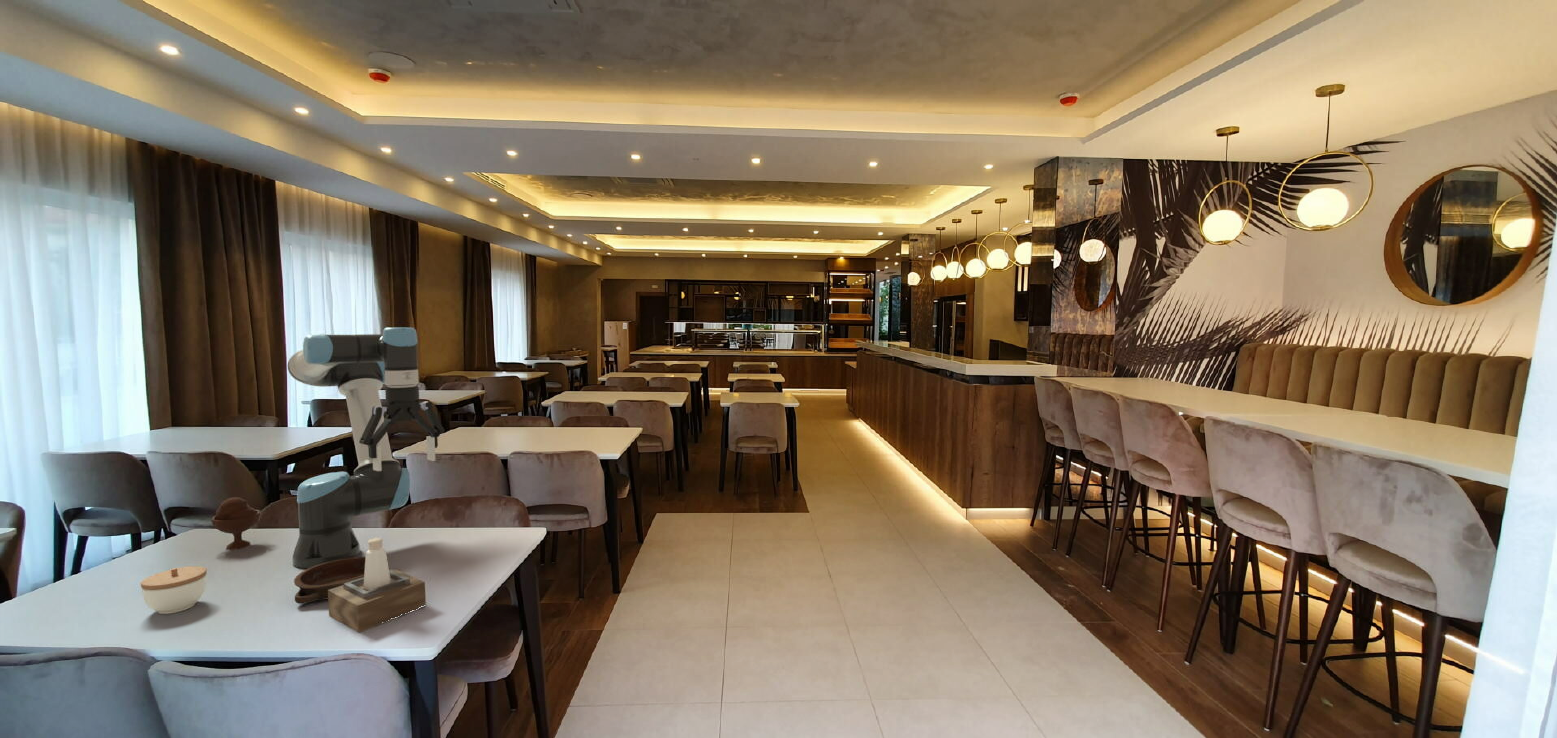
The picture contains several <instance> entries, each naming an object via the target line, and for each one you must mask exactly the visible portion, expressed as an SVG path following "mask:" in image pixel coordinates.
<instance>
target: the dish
mask: <svg viewBox="0 0 1557 738" xmlns="http://www.w3.org/2000/svg"><path fill="white" fill-rule="evenodd" d="M365 559H366V556H355V557H353V558H346V559H339V560H334V561H330V562H326V563H322V564H319V565H316V566H313V567H311V568H305V570H303V571H301V572H300V573H298V574H297V575H296V576H295V578H294V579H293V583H294V585H295V586H296V587H298V588H299V590H298V591H297V592H296V594H295V595H294V602H295V604H300V605H301V604H302V605H303V604H308V603H310V602H315V601H317V600H318V601H319V600H328V590H330V589H333V588H336V587H339V586H342V585H343V584H344V583H347V582H350V581H353V580H356V579H359V578H362V577H364V572H365Z"/></svg>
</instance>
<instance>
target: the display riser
mask: <svg viewBox="0 0 1557 738" xmlns="http://www.w3.org/2000/svg"><path fill="white" fill-rule="evenodd" d="M389 574H390V579H391V582H390V583H389V584H386V585H383V586H380V587H377V588H374V589H371V590H364V589H363V585H364V577H362V578H359V579H356V580H353V581H350V582H347V583H344V584H343V585H342V586H339V587H336V588H333V589H330V590H328V599H327V601H328V617H330V618H333V620H336V621H338V622H340V623H342V624H343V625H345V626H347V627H348V628H350V629H352V630H354V631H356V632H357V633H362V632H365V631H366V630H369V628H370V629H372V628H374V627H377V626H379V624H380V625H382V624H383V623H382V622H385V623H387V622H389V621H388V620H390V619H391V618H395V617H398V616H400V615H401V614H405V613H408V612H410V611H412V610H416V609H418V608H419V607H421V606H424V605H426V604H427V602H426V582H425V581H423V580H422V579H419V578H416V577H414V576H412V575H411V574H410V575H409V574H407V573H404V572H402V571H400V570H398V569H396V568H392V569H390V568H389ZM418 610H419V609H418ZM416 611H417V610H416ZM408 614H409V613H408ZM405 615H406V614H405ZM400 617H401V616H400ZM398 618H399V617H398ZM395 619H396V618H395ZM386 621H387V622H386ZM390 621H391V620H390ZM381 623H382V624H381ZM371 627H372V628H371Z"/></svg>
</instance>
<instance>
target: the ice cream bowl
mask: <svg viewBox="0 0 1557 738" xmlns="http://www.w3.org/2000/svg"><path fill="white" fill-rule="evenodd" d="M260 514H261V509H255V508H254V507H250V505H249V503H248V501H247V500H245V499H243V498H241V497H238V496H237V497H230V498H227V499H225V500H224V501H222V502H221V503H220V504H219V507H218V509H216V511H215V516H212V517H211V524H212V526H213V527H214V528H215V529H216V530H218V531H220V532H222V533H225V534H232V535H233V541H231V542H230V543H228V544H227V545H226V548H225V549H226V550H239V549H243V548H247V547H249V546H251V541H248V540H245V539H242V538H243V537H242V534H243V532H247V531H248V530H250V529H251V528H253V527H254V526H255V525H256V524H257V523H258V522H259V519H260Z"/></svg>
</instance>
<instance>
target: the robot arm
mask: <svg viewBox="0 0 1557 738" xmlns="http://www.w3.org/2000/svg"><path fill="white" fill-rule="evenodd" d="M418 342H419V340H418V334H417V330H416V329H415V327H385V328H384V329H383V330H382V333H380V334H379V333H378V334H377V333H376V334H374V333H373V334H370V333H369V334H363V333H362V334H324V333H320V334H308V335H306V336H305V337H304V339H303V342H302V349H301V350H298V351H297V352H295V353H293V355H292V356H291V357H290V358H289V360H288V363H287V371H288V372H289V375H290V376H291V377H292V378H293V379H294V380H296V381H297V382H300V383H302V384H304V385H308V386H313V387H323V388H324V387H325V388H326V387H329V388H330V387H337V389H338V393H339V394H340V395H343V396H344V397H345V399H346V405H347V410H348V416H349V421H350V427H351V432H352V436H353V442H354V443H353V444H354V446H355V447H354V448H355V453H356V458H357V462H358V466H357V467H356V468H354V470H353V475H351V476H350V474H349V473H348V472H347V471H337V472H334V471H333V472H328V473H324V474H319V475H317V476H313V477H310V478H308V479H306V480H304V481H303V482H301V483H300V484H299V486H298V487H297V496H296V498H297V499H296V502H297V509H298V530H299V536H298V539H297V542H296V545H295V547H294V551H293V554H292V565H293V567H297V568H301V569H309V568H311V567H313V566H316V565H319V564H322V563H326V562H330V561H334V560H339V559H346V558H354V557H357V556H358V555H359V554H360V553H361V552H360V551H361V550H360V548H361V547H360V543H359V540H358V538H357V536H356V534H355V531H354V529H353V528H352V521H351V520H352V518H353V517H357V516H363V515H368V514H369V515H370V514H372V513H379V512H383V511H391V510H393V509H398V508H401V507H403V506H405V505H406V504H407V502H408V500H409V496H410V491H411V476H410V471H409V469H408V468H406V467H401V464H400V461H398V460H397V459H394V457H393V455H392V450H391V446H390V441H389V435H388V431H389V430H390V428H391V427H392V426H393V425H394V424H395V423H396V422H397V423H401V422H405V421H408V422H410V421H412V420H413V421H414V422H415V423H417V425H419V427H421V428H422V429H423V431H425V433H427V434H428V435H429V436H425V437H426V460H427V461H430V462H435V461H436V449H437V448H438V444H439V443H438V438H439V437H440V435H441V434H444V433H445V431H446V430H445V429H444V427H443V425H442V423H441V421H440V420H439V418H438V416H437V415H436V413H435V411H434V410H433V403H432V402H431V401H426V400H424V401H422V402H420V389H419V388H420V387H419V386H418V384H419V358H418V356H419V354H418ZM383 384H384V385H385V386H387V387H385V391H384V393H385V403H386V404H385V406H382V402H381V398H380V397H381V396H380V393H379V391H380V390H381V389H382V388H383V386H384V385H383ZM420 410H422V411H423V413H424V414H425V416H426V417H427V419H428V420H429V422H430V424H429V423H428V422H427V421H426V420H425V419H424V418H423V416H422V415H421V414H420V413H419V412H420ZM385 413H386V414H387V416H386V417H384V415H385ZM357 554H358V555H357ZM356 555H357V556H356Z"/></svg>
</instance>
